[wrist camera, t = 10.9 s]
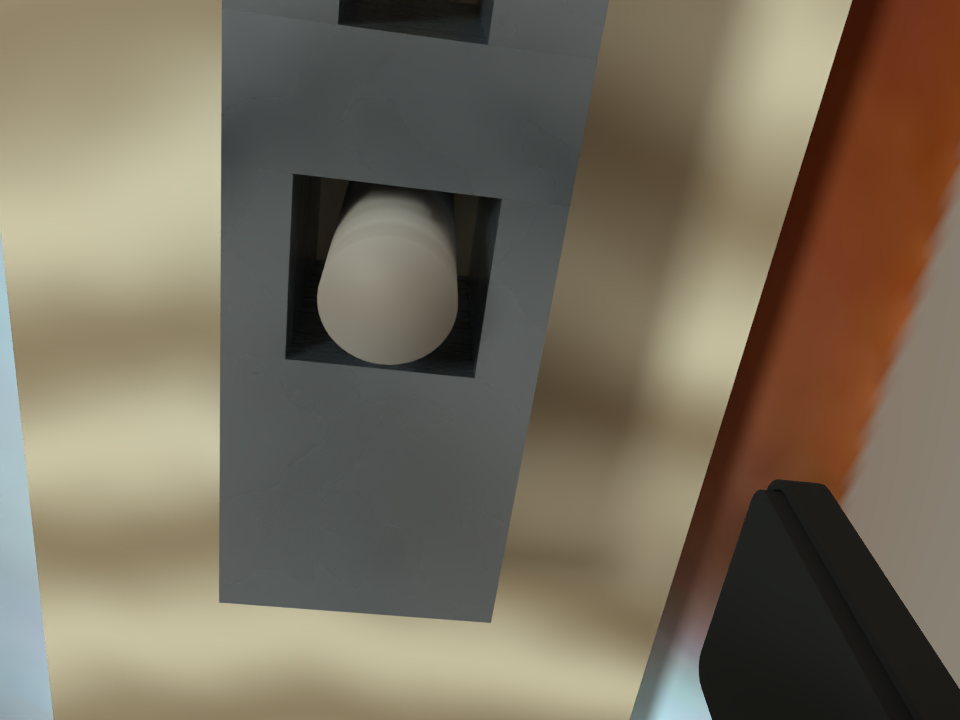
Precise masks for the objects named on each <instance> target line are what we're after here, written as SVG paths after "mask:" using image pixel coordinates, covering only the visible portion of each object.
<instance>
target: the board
mask: <svg viewBox="0 0 960 720" xmlns="http://www.w3.org/2000/svg"><path fill="white" fill-rule="evenodd" d="M449 1H456V2H463V3H470V4H477V2H478V0H449ZM851 3H852V0H609V3H608V9H607V14H606V19H605V24H604V30H603V35H602V40H601V45H600V51H599V56H598V61H597V67H596V72H595V77H594V82H593V88H592V93H591V98H590V103H589V109H588V114H587V119H586V125H585V130H584V135H583V140H582V146H581V151H580V156H579V161H578V167H577V172H576V177H575V183H574V188H573V193H572V198H571V204H570V209H569V214H568V219H567V225H566V230H565V235H564V241H563V246H562V251H561V256H560V262H559V267H558V272H557V277H556V283H555V288H554V293H553V299H552V304H551V309H550V314H549V320H548V325H547V330H546V335H545V341H544V346H543V351H542V357H541V362H540V367H539V372H538V378H537V383H536V388H535V393H534V399H533V404H532V409H531V415H530V420H529V425H528V430H527V436H526V441H525V446H524V451H523V457H522V462H521V467H520V473H519V478H518V483H517V488H516V494H515V499H514V504H513V509H512V515H511V520H510V525H509V531H508V536H507V541H506V546H505V552H504V557H503V562H502V567H501V573H500V578H499V583H498V589H497V594H496V599H495V604H494V610H493V615H492V620H491V623H484V622H471V621H458V620H444V619H431V618H418V617H404V616H391V615H377V614H364V613H351V612H337V611H324V610H311V609H297V608H284V607H271V606H257V605H244V604H231V603H219V487H220V282H221V77H222V0H0V230H1V239H2V248H3V258H4V267H5V276H6V285H7V294H8V304H9V313H10V322H11V331H12V340H13V350H14V359H15V368H16V377H17V386H18V396H19V405H20V414H21V423H22V432H23V442H24V451H25V460H26V469H27V478H28V488H29V497H30V506H31V515H32V525H33V534H34V543H35V552H36V561H37V571H38V580H39V589H40V598H41V607H42V617H43V626H44V635H45V644H46V653H47V663H48V672H49V681H50V690H51V699H52V709H53V718H54V720H630V716H631V713H632V710H633V707H634V703H635V700H636V697H637V694H638V691H639V687H640V684H641V681H642V678H643V674H644V671H645V668H646V665H647V662H648V658H649V655H650V652H651V649H652V645H653V642H654V639H655V636H656V632H657V629H658V626H659V623H660V620H661V616H662V613H663V610H664V607H665V603H666V600H667V597H668V594H669V590H670V587H671V584H672V581H673V578H674V574H675V571H676V568H677V565H678V561H679V558H680V555H681V552H682V548H683V545H684V542H685V539H686V536H687V532H688V529H689V526H690V523H691V519H692V516H693V513H694V510H695V506H696V503H697V500H698V497H699V494H700V490H701V487H702V484H703V481H704V477H705V474H706V471H707V468H708V464H709V461H710V458H711V455H712V452H713V448H714V445H715V442H716V439H717V435H718V432H719V429H720V426H721V423H722V419H723V416H724V413H725V410H726V406H727V403H728V400H729V397H730V393H731V390H732V387H733V384H734V381H735V377H736V374H737V371H738V368H739V364H740V361H741V358H742V355H743V351H744V348H745V345H746V342H747V339H748V335H749V332H750V329H751V326H752V322H753V319H754V316H755V313H756V309H757V306H758V303H759V300H760V297H761V293H762V290H763V287H764V284H765V280H766V277H767V274H768V271H769V267H770V264H771V261H772V258H773V255H774V251H775V248H776V245H777V242H778V238H779V235H780V232H781V229H782V225H783V222H784V219H785V216H786V213H787V209H788V206H789V203H790V200H791V196H792V193H793V190H794V187H795V184H796V180H797V177H798V174H799V171H800V167H801V164H802V161H803V158H804V154H805V151H806V148H807V145H808V142H809V138H810V135H811V132H812V129H813V125H814V122H815V119H816V116H817V112H818V109H819V106H820V103H821V100H822V96H823V93H824V90H825V87H826V83H827V80H828V77H829V74H830V70H831V67H832V64H833V61H834V58H835V54H836V51H837V48H838V45H839V41H840V38H841V35H842V32H843V28H844V25H845V22H846V19H847V16H848V12H849V9H850V6H851ZM478 201H479V196H475V195H467V194H459V193H451V192H442V191H434V190H426V189H417V188H409V187H401V186H392V185H384V184H376V183H367V182H359V181H351V180H343V179H334V178H326V177H321V193H320V211H319V228H318V246H317V260H326V262H325V266H324V269H323V273H322V276H321V280H320V283H319V286H318V293H317V305H318V312H319V315H320V318H321V321H322V323H323V325H324V328H325V329H326V331H327V332H328V334H329V335H330V337H331V338H332V339H333V340H334V341H335V342H336V343H337V344H338V345H339V346H340V347H341V348H342V349H344V350H345V351H346V352H348V353H349V354H351V355H353V356H355V357H357V358H359V359H362V360H364V361H368V362H371V363H376V364H384V365H395V364H403V363H408V362H411V361H415V360H417V359H420V358H422V357H424V356H426V355H427V354H429V353H431V352H432V351H433V350H435V349H436V348H437V347H438V346H439V345H440V344H441V343H442V342H443V341H444V340H445V339H446V337H447V336H448V334H449V333H450V331H451V329H452V327H453V325H454V322H455V319H456V315H457V309H458V291H457V275H461V276H468V272H469V265H470V258H471V251H472V243H473V236H474V229H475V222H476V215H477V208H478Z"/></svg>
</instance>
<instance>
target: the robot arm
mask: <svg viewBox="0 0 960 720" xmlns="http://www.w3.org/2000/svg"><path fill="white" fill-rule="evenodd" d="M699 678H700V684H701V688H702V691H703V694H704V697H705V700H706V703H707V706H708V709H709V712H710V715H711V718H712V720H960V689H959V688H958V686H957V685H956V683H955V681H954V680H953V678H952V677H951V675H950V674H949V672H948V671H947V669H946V668H945V666H944V665H943V663H942V662H941V660H940V658H939V657H938V655H937V654H936V652H935V651H934V649H933V648H932V646H931V645H930V643H929V642H928V640H927V639H926V637H925V636H924V634H923V633H922V631H921V629H920V628H919V626H918V625H917V623H916V622H915V620H914V619H913V617H912V616H911V614H910V613H909V611H908V610H907V608H906V607H905V605H904V604H903V602H902V600H901V599H900V598H899V596H898V594H897V593H896V591H895V590H894V588H893V587H892V585H891V584H890V582H889V581H888V579H887V578H886V576H885V575H884V573H883V571H882V570H881V568H880V567H879V565H878V564H877V562H876V561H875V559H874V558H873V556H872V555H871V553H870V552H869V550H868V549H867V547H866V545H865V544H864V542H863V541H862V539H861V538H860V536H859V535H858V533H857V532H856V530H855V529H854V527H853V526H852V524H851V523H850V521H849V520H848V518H847V516H846V515H845V513H844V512H843V510H842V509H841V507H840V506H839V504H838V503H837V501H836V500H835V498H834V497H833V495H832V494H831V492H830V490H829V489H828V488H827V487H826V486H825V485H823V484H819V483H809V482H799V481H789V480H778V479H777V480H775V481H773V482H772V483H771V484H770V485H769V486H768V488H767V490H758V491H757V492H756V493H755V494H754V495H753V498H752V500H751V503H750V506H749V509H748V512H747V515H746V518H745V521H744V524H743V527H742V530H741V533H740V536H739V539H738V542H737V545H736V548H735V551H734V554H733V557H732V560H731V563H730V566H729V569H728V572H727V575H726V578H725V581H724V584H723V587H722V590H721V593H720V596H719V599H718V602H717V606H716V609H715V612H714V615H713V618H712V621H711V624H710V627H709V630H708V633H707V636H706V639H705V642H704V645H703V648H702V651H701V655H700V660H699Z"/></svg>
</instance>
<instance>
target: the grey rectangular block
mask: <svg viewBox="0 0 960 720" xmlns="http://www.w3.org/2000/svg"><path fill="white" fill-rule="evenodd" d="M608 3H609V0H478V2H477V4H470V3H463V2H456V1H449V0H222V77H221V282H220V487H219V603H231V604H244V605H257V606H271V607H284V608H297V609H311V610H324V611H337V612H351V613H364V614H377V615H391V616H404V617H418V618H431V619H444V620H458V621H471V622H484V623H491V620H492V615H493V610H494V604H495V599H496V594H497V589H498V583H499V578H500V573H501V567H502V562H503V557H504V552H505V546H506V541H507V536H508V531H509V525H510V520H511V515H512V509H513V504H514V499H515V494H516V488H517V483H518V478H519V473H520V467H521V462H522V457H523V451H524V446H525V441H526V436H527V430H528V425H529V420H530V415H531V409H532V404H533V399H534V393H535V388H536V383H537V378H538V372H539V367H540V362H541V357H542V351H543V346H544V341H545V335H546V330H547V325H548V320H549V314H550V309H551V304H552V299H553V293H554V288H555V283H556V277H557V272H558V267H559V262H560V256H561V251H562V246H563V241H564V235H565V230H566V225H567V219H568V214H569V209H570V204H571V198H572V193H573V188H574V183H575V177H576V172H577V167H578V161H579V156H580V151H581V146H582V140H583V135H584V130H585V125H586V119H587V114H588V109H589V103H590V98H591V93H592V88H593V82H594V77H595V72H596V67H597V61H598V56H599V51H600V45H601V40H602V35H603V30H604V24H605V19H606V14H607V9H608ZM321 177H326V178H334V179H343V180H351V181H359V182H367V183H376V184H384V185H392V186H401V187H409V188H417V189H426V190H434V191H442V192H451V193H459V194H467V195H475V196H479V201H478V208H477V215H476V222H475V229H474V236H473V243H472V251H471V258H470V265H469V272H468V276H461V275H457V291H458V309H457V315H456V319H455V322H454V325H453V327H452V329H451V331H450V333H449V334H448V336H447V337H446V339H445V340H444V341H443V342H442V343H441V344H440V345H439V346H438V347H437V348H436V349H435V350H433V351H432V352H431V353H429V354H427V355H426V356H424V357H422V358H420V359H417V360H415V361H411V362H408V363H403V364H395V365H384V364H376V363H371V362H368V361H364V360H362V359H359V358H357V357H355V356H353V355H351V354H349V353H348V352H346V351H345V350H344V349H342V348H341V347H340V346H339V345H338V344H337V343H336V342H335V341H334V340H333V339H332V338H331V337H330V335H329V334H328V332H327V331H326V329H325V328H324V325H323V323H322V321H321V318H320V315H319V312H318V305H317V293H318V286H319V283H320V280H321V276H322V273H323V269H324V266H325V262H326V260H317V246H318V228H319V211H320V193H321Z"/></svg>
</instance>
